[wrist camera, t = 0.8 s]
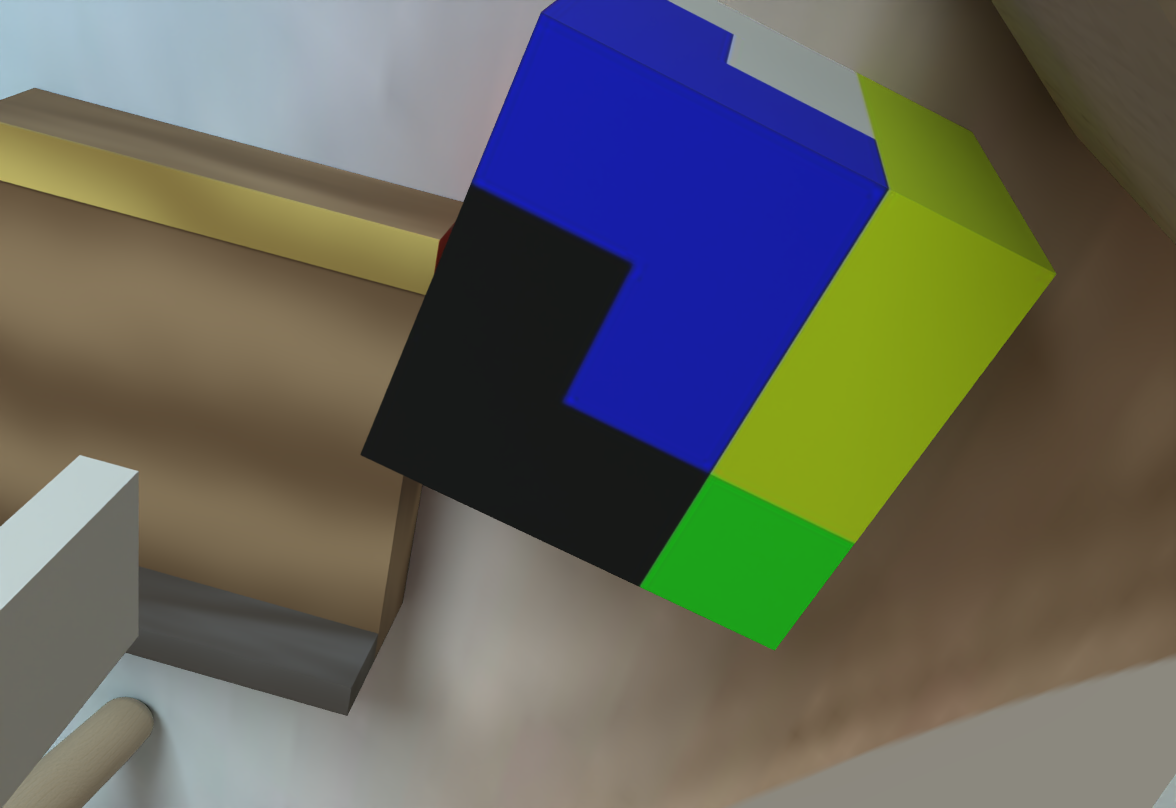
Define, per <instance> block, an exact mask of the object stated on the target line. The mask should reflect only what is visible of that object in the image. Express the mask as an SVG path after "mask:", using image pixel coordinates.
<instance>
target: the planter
mask: <svg viewBox="0 0 1176 808" xmlns="http://www.w3.org/2000/svg"><path fill="white" fill-rule="evenodd" d="M153 723H154V721H153V716H152V713H151V711H150V710H149V709H148V707H147V706H146V705H145V704H143V703H142V702H141V701H139V700H136V699H134V698H130V697H119V698H116V699H113V700H111V701H109V702H107V703H106V704H105V705H104V706H103V707H101V708H100V709H99V710H98V711H97V712H96V713H94V714H93V715H92V716H91V717H90V718H89V719H87V720H86V721H85V722H84V723H83V724H82V725H80V726H79V727H78V728H77V729H76V730H74V731H73V732H72V733H71V734H70V735H69V736H67V737H66V738H65V739H64V740H63V741H61V742H60V743H59V744H58V745H57V746H56V747H54V748H53V749H52V750H51V751H50V752H49V753H47V754H46V755H45V756H44V757H43V758H41V759H40V761H39V762H38V763H37V764H36V766H35V767H34V768H33V770H32V771H31V772H30V773H29V775H28V776H27V777H26V778H25V780H24V781H23V782H22V783H21V785H20V786H19V787H18V788H17V790H16V791H15V792H14V793H13V795H12V796H11V797H10V799H9V800H8V801H7V802H6V804H5V805H4V806H3V807H2V808H82V807H83V806H84V805H85V804H86V803H87V802H88V801H89V800H90V799H91V798H92V797H93V796H94V795H95V794H96V793H97V792H98V791H99V789H100V788H101V787H102V786H103V785H104V784H105V783H106V782H107V781H108V780H109V779H110V778H111V777H112V776H113V775H114V774H115V773H116V772H117V771H118V770H119V769H120V768H121V767H122V766H123V765H124V764H125V763H126V762H127V761H128V760H129V758H130V757H131V756H132V755H133V754H134V753H135V752H136V751H137V749H138V748H139V747H140V746H141V745H142V744H143V743H144V741H145V740H146V739H147V738H148V737H149V736H150V734H151V732H152V729H153Z"/></svg>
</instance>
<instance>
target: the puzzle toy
mask: <svg viewBox="0 0 1176 808" xmlns="http://www.w3.org/2000/svg"><path fill="white" fill-rule="evenodd" d="M1055 275H1056V272H1055V271H1054V269H1053V267H1052V266H1051V264H1050V262H1049V260H1048V259H1047V257H1046V255H1045V254H1044V252H1043V250H1042V249H1041V247H1040V245H1039V244H1038V242H1037V240H1036V239H1035V237H1034V235H1033V234H1032V232H1031V230H1030V229H1029V227H1028V225H1027V223H1026V222H1025V220H1024V218H1023V217H1022V215H1021V213H1020V212H1019V210H1018V208H1017V207H1016V205H1015V203H1014V202H1013V200H1012V198H1011V197H1010V195H1009V193H1008V192H1007V190H1006V188H1005V186H1004V185H1003V183H1002V181H1001V180H1000V178H999V176H998V175H997V173H996V171H995V170H994V168H993V166H992V165H991V163H990V161H989V160H988V158H987V156H986V154H985V153H984V151H983V149H982V148H981V146H980V144H979V143H978V141H977V139H976V138H975V136H974V134H973V133H972V132H971V131H969V130H967V129H965V128H963V127H961V126H959V125H957V124H955V123H953V122H951V121H950V120H948V119H946V118H944V117H942V116H940V115H938V114H936V113H934V112H932V111H930V110H928V109H926V108H924V107H922V106H920V105H918V104H917V103H915V102H913V101H911V100H909V99H907V98H905V97H903V96H901V95H899V94H897V93H895V92H893V91H891V90H889V89H887V88H885V87H884V86H882V85H880V84H878V83H876V82H874V81H872V80H870V79H868V78H866V77H864V76H862V75H860V74H858V73H856V72H854V71H853V70H851V69H849V68H847V67H845V66H843V65H841V64H839V63H837V62H835V61H833V60H831V59H829V58H827V57H825V56H823V55H821V54H820V53H818V52H816V51H814V50H812V49H810V48H808V47H806V46H804V45H802V44H800V43H798V42H796V41H794V40H792V39H790V38H788V37H787V36H785V35H783V34H781V33H779V32H777V31H775V30H773V29H771V28H769V27H767V26H765V25H763V24H761V23H759V22H757V21H755V20H754V19H752V18H750V17H748V16H746V15H744V14H742V13H740V12H738V11H736V10H734V9H732V8H730V7H728V6H726V5H724V4H722V3H721V2H719V1H717V0H556V1H555V2H553V3H552V4H551V5H550V6H548V7H547V8H546V9H544V10H543V11H542V12H541V14H540V16H539V19H538V21H537V23H536V26H535V28H534V31H533V33H532V36H531V38H530V41H529V43H528V45H527V48H526V50H525V53H524V55H523V58H522V60H521V63H520V65H519V67H518V70H517V72H516V75H515V77H514V80H513V82H512V85H511V87H510V89H509V92H508V94H507V97H506V99H505V102H504V104H503V107H502V109H501V111H500V114H499V116H498V119H497V121H496V124H495V126H494V129H493V131H492V133H491V136H490V138H489V141H488V143H487V146H486V148H485V151H484V153H483V155H482V158H481V160H480V163H479V165H478V168H477V170H476V173H475V175H474V178H473V180H472V182H471V185H470V187H469V190H468V192H467V195H466V197H465V200H464V202H463V204H462V207H461V209H460V212H459V214H458V217H457V219H456V222H455V224H454V226H453V229H452V231H451V234H450V236H449V239H448V241H447V244H446V246H445V248H444V251H443V253H442V256H441V258H440V261H439V263H438V266H437V268H436V270H435V273H434V275H433V278H432V280H431V283H430V285H429V288H428V290H427V292H426V295H425V297H424V300H423V302H422V305H421V307H420V310H419V312H418V314H417V317H416V319H415V322H414V324H413V327H412V329H411V332H410V334H409V336H408V339H407V341H406V344H405V346H404V349H403V351H402V354H401V356H400V358H399V361H398V363H397V366H396V368H395V371H394V373H393V376H392V378H391V380H390V383H389V385H388V388H387V390H386V393H385V395H384V398H383V400H382V402H381V405H380V407H379V410H378V412H377V415H376V417H375V420H374V422H373V424H372V427H371V429H370V432H369V434H368V437H367V439H366V442H365V444H364V446H363V449H362V451H361V454H360V455H361V456H363V457H365V458H367V459H370V460H372V461H374V462H376V463H378V464H380V465H382V466H384V467H386V468H389V469H391V470H393V471H395V472H397V473H399V474H401V475H403V476H406V477H408V478H410V479H412V480H414V481H416V482H418V483H420V484H423V485H425V486H427V487H429V488H431V489H433V490H435V491H437V492H440V493H442V494H444V495H446V496H448V497H450V498H452V499H454V500H456V501H459V502H461V503H463V504H465V505H467V506H469V507H471V508H473V509H476V510H478V511H480V512H482V513H484V514H486V515H488V516H490V517H493V518H495V519H497V520H499V521H501V522H503V523H505V524H507V525H510V526H512V527H514V528H516V529H518V530H520V531H522V532H524V533H526V534H529V535H531V536H533V537H535V538H537V539H539V540H541V541H543V542H546V543H548V544H550V545H552V546H554V547H556V548H558V549H560V550H563V551H565V552H567V553H569V554H571V555H573V556H575V557H577V558H580V559H582V560H584V561H586V562H588V563H590V564H592V565H594V566H596V567H599V568H601V569H603V570H605V571H607V572H609V573H611V574H613V575H616V576H618V577H620V578H622V579H624V580H626V581H628V582H630V583H633V584H635V585H637V586H639V587H641V588H643V589H645V590H647V591H650V592H652V593H654V594H656V595H658V596H660V597H662V598H664V599H666V600H669V601H671V602H673V603H675V604H677V605H679V606H681V607H683V608H686V609H688V610H690V611H692V612H694V613H696V614H698V615H700V616H703V617H705V618H707V619H709V620H711V621H713V622H715V623H717V624H720V625H722V626H724V627H726V628H728V629H730V630H732V631H734V632H736V633H739V634H741V635H743V636H745V637H747V638H749V639H751V640H753V641H756V642H758V643H760V644H762V645H764V646H766V647H768V648H770V649H773V650H775V649H776V648H777V647H778V645H779V644H780V643H781V641H782V640H783V639H784V637H785V636H786V635H787V633H788V632H789V631H790V629H791V628H792V627H793V625H794V624H795V623H796V621H797V620H798V619H799V617H800V616H801V615H802V613H803V612H804V611H805V609H806V608H807V607H808V605H809V604H810V603H811V601H812V600H813V599H814V597H815V596H816V595H817V593H818V592H819V591H820V589H821V588H822V587H823V585H824V584H825V583H826V581H827V580H828V579H829V577H830V576H831V575H832V573H833V572H834V571H835V569H836V568H837V567H838V565H839V564H840V563H841V561H842V560H843V559H844V557H845V556H846V554H847V553H848V552H849V550H850V549H851V548H852V546H853V545H854V544H855V542H856V541H857V540H858V538H859V537H860V536H861V534H862V533H863V532H864V530H865V529H866V528H867V526H868V525H869V524H870V522H871V521H872V520H873V518H874V517H875V516H876V514H877V513H878V512H879V510H880V509H881V508H882V506H883V505H884V504H885V502H886V501H887V500H888V498H889V497H890V496H891V494H892V493H893V492H894V490H895V489H896V488H897V486H898V485H899V484H900V482H901V481H902V480H903V478H904V477H905V476H906V474H907V473H908V472H909V470H910V469H911V468H912V466H913V465H914V464H915V462H916V461H917V460H918V458H919V457H920V456H921V454H922V453H923V452H924V450H925V449H926V448H927V446H928V445H929V444H930V442H931V441H932V440H933V438H934V437H935V436H936V434H937V433H938V432H939V430H940V429H941V428H942V426H943V425H944V424H945V422H946V421H947V420H948V418H949V417H950V416H951V414H952V413H953V412H954V410H955V409H956V408H957V406H958V405H959V404H960V402H961V401H962V400H963V398H964V397H965V396H966V394H967V393H968V392H969V390H970V389H971V388H972V386H973V385H974V384H975V382H976V381H977V380H978V378H979V377H980V376H981V374H982V373H983V372H984V370H985V369H986V368H987V366H988V365H989V364H990V362H991V361H992V360H993V358H994V357H995V356H996V354H997V353H998V351H999V350H1000V349H1001V347H1002V346H1003V345H1004V343H1005V342H1006V341H1007V339H1008V338H1009V337H1010V335H1011V334H1012V333H1013V331H1014V330H1015V329H1016V327H1017V326H1018V325H1019V323H1020V322H1021V321H1022V319H1023V318H1024V317H1025V315H1026V314H1027V313H1028V311H1029V310H1030V309H1031V307H1032V306H1033V305H1034V303H1035V302H1036V301H1037V299H1038V298H1039V297H1040V295H1041V294H1042V293H1043V291H1044V290H1045V289H1046V287H1047V286H1048V285H1049V283H1050V282H1051V281H1052V279H1053V278H1054V277H1055Z"/></svg>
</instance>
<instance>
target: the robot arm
mask: <svg viewBox="0 0 1176 808" xmlns="http://www.w3.org/2000/svg"><path fill="white" fill-rule="evenodd" d="M138 571H139V471H136V470H133V469H129V468H125V467H122V466H118V465H114V464H111V463H107V462H103V461H100V460H96V459H92V458H89V457H85V456H81V455H79V456H78V457H77V458H76V459H75V460H74V461H73V462H72V463H70V464H69V465H68V466H67V467H66V468H65V469H64V470H63V471H62V472H60V473H59V474H58V475H57V476H56V477H55V478H54V479H53V480H52V481H50V482H49V483H48V484H47V485H46V486H45V487H44V488H43V489H42V490H40V491H39V492H38V493H37V494H36V495H35V496H34V497H33V498H32V499H30V500H29V501H28V502H27V503H26V504H25V505H24V506H23V507H22V508H20V509H19V510H18V511H17V512H16V513H15V514H14V515H13V516H12V517H10V518H9V519H8V520H7V521H6V522H5V523H4V524H3V525H2V526H0V808H2V807H3V806H4V805H5V804H6V802H7V801H8V800H9V799H10V797H11V796H12V795H13V793H14V792H15V791H16V790H17V788H18V787H19V786H20V785H21V783H22V782H23V781H24V780H25V778H26V777H27V776H28V775H29V773H30V772H31V771H32V770H33V768H34V767H35V766H36V764H37V763H38V762H39V761H40V759H41V758H42V757H43V756H44V754H45V753H46V752H47V751H48V749H49V748H50V747H51V746H52V744H53V743H54V742H55V741H56V739H57V738H58V737H59V735H60V734H61V733H62V732H63V730H64V729H65V728H66V727H67V725H68V724H69V723H70V722H71V720H72V719H73V718H74V717H75V715H76V714H77V713H78V712H79V710H80V709H81V708H82V707H83V705H84V704H85V703H86V701H87V700H88V699H89V698H90V696H91V695H92V694H93V693H94V691H95V690H96V689H97V688H98V686H99V685H100V684H101V683H102V681H103V680H104V679H105V678H106V676H107V675H108V674H109V672H110V671H111V670H112V669H113V667H114V666H115V665H116V664H117V662H118V661H119V660H120V659H121V657H122V656H123V655H124V654H125V652H126V651H127V650H128V649H129V647H130V646H131V645H132V643H133V642H134V641H135V640H136V638H137V637H138ZM1152 808H1176V774H1175V776H1174V777H1173V779H1172V780H1171V781H1170V783H1169V784H1168V786H1167V787H1166V789H1165V790H1164V791H1163V793H1162V794H1161V796H1160V797H1159V799H1158V800H1157V802H1156V803H1155V804H1154V806H1153V807H1152Z"/></svg>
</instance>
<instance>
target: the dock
mask: <svg viewBox="0 0 1176 808" xmlns="http://www.w3.org/2000/svg"><path fill="white" fill-rule="evenodd" d="M462 204H463V202H461V201H457V200H453V199H449V198H446V197H442V196H438V195H434V194H431V193H427V192H423V191H419V190H416V189H412V188H408V187H404V186H401V185H397V184H393V183H389V182H386V181H382V180H378V179H374V178H371V177H367V176H363V175H359V174H356V173H352V172H348V171H344V170H341V169H337V168H333V167H329V166H326V165H322V164H318V163H314V162H311V161H307V160H303V159H299V158H296V157H292V156H288V155H284V154H281V153H277V152H273V151H269V150H266V149H262V148H258V147H254V146H251V145H247V144H243V143H239V142H236V141H232V140H228V139H224V138H221V137H217V136H213V135H209V134H206V133H202V132H198V131H194V130H190V129H187V128H183V127H179V126H175V125H172V124H168V123H164V122H160V121H157V120H153V119H149V118H145V117H142V116H138V115H134V114H130V113H127V112H123V111H119V110H115V109H112V108H108V107H104V106H100V105H97V104H93V103H89V102H85V101H82V100H78V99H74V98H70V97H67V96H63V95H59V94H55V93H52V92H48V91H44V90H40V89H37V88H33V89H30V90H27V91H24V92H22V93H19V94H16V95H13V96H11V97H8V98H5V99H2V100H0V526H2V525H3V524H4V523H5V522H6V521H7V520H8V519H9V518H10V517H12V516H13V515H14V514H15V513H16V512H17V511H18V510H19V509H20V508H22V507H23V506H24V505H25V504H26V503H27V502H28V501H29V500H30V499H32V498H33V497H34V496H35V495H36V494H37V493H38V492H39V491H40V490H42V489H43V488H44V487H45V486H46V485H47V484H48V483H49V482H50V481H52V480H53V479H54V478H55V477H56V476H57V475H58V474H59V473H60V472H62V471H63V470H64V469H65V468H66V467H67V466H68V465H69V464H70V463H72V462H73V461H74V460H75V459H76V458H77V457H78V456H79V455H81V456H85V457H89V458H92V459H96V460H100V461H103V462H107V463H111V464H114V465H118V466H122V467H125V468H129V469H133V470H136V471H139V571H138V637H137V638H136V640H135V641H134V642H133V643H132V645H131V646H130V647H129V649H128V650H127V651H126V652H125V653H129V654H132V655H136V656H139V657H143V658H146V659H150V660H153V661H157V662H160V663H164V664H167V665H171V666H174V667H178V668H181V669H185V670H188V671H192V672H195V673H199V674H202V675H206V676H209V677H213V678H216V679H220V680H224V681H227V682H231V683H234V684H238V685H241V686H245V687H248V688H252V689H255V690H259V691H262V692H266V693H269V694H273V695H276V696H280V697H283V698H287V699H290V700H294V701H297V702H301V703H304V704H308V705H311V706H315V707H318V708H322V709H325V710H329V711H332V712H336V713H339V714H343V715H346V716H347V715H348V713H349V711H350V709H351V707H352V705H353V703H354V701H355V699H356V697H357V695H358V693H359V691H360V689H361V687H362V685H363V683H364V680H365V678H366V676H367V674H368V672H369V670H370V668H371V666H372V664H373V662H374V660H375V658H376V656H377V654H378V652H379V650H380V648H381V646H382V644H383V642H384V640H385V638H386V636H387V634H388V632H389V629H390V627H391V625H392V623H393V621H394V619H395V617H396V615H397V613H398V611H399V609H400V607H401V605H402V603H403V597H404V591H405V585H406V579H407V573H408V567H409V561H410V555H411V549H412V543H413V537H414V531H415V526H416V520H417V514H418V508H419V502H420V496H421V490H422V484H420V483H418V482H416V481H414V480H412V479H410V478H408V477H406V476H403V475H401V474H399V473H397V472H395V471H393V470H391V469H389V468H386V467H384V466H382V465H380V464H378V463H376V462H374V461H372V460H370V459H367V458H365V457H363V456H361V455H360V454H361V451H362V449H363V446H364V444H365V442H366V439H367V437H368V434H369V432H370V429H371V427H372V424H373V422H374V420H375V417H376V415H377V412H378V410H379V407H380V405H381V402H382V400H383V398H384V395H385V393H386V390H387V388H388V385H389V383H390V380H391V378H392V376H393V373H394V371H395V368H396V366H397V363H398V361H399V358H400V356H401V354H402V351H403V349H404V346H405V344H406V341H407V339H408V336H409V334H410V332H411V329H412V327H413V324H414V322H415V319H416V317H417V314H418V312H419V310H420V307H421V305H422V302H423V300H424V297H425V295H426V292H427V290H428V288H429V285H430V283H431V280H432V278H433V275H434V273H435V270H436V268H437V266H438V263H439V261H440V258H441V256H442V253H443V251H444V248H445V246H446V244H447V241H448V239H449V236H450V234H451V231H452V229H453V226H454V224H455V222H456V219H457V217H458V214H459V212H460V209H461V207H462Z"/></svg>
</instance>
